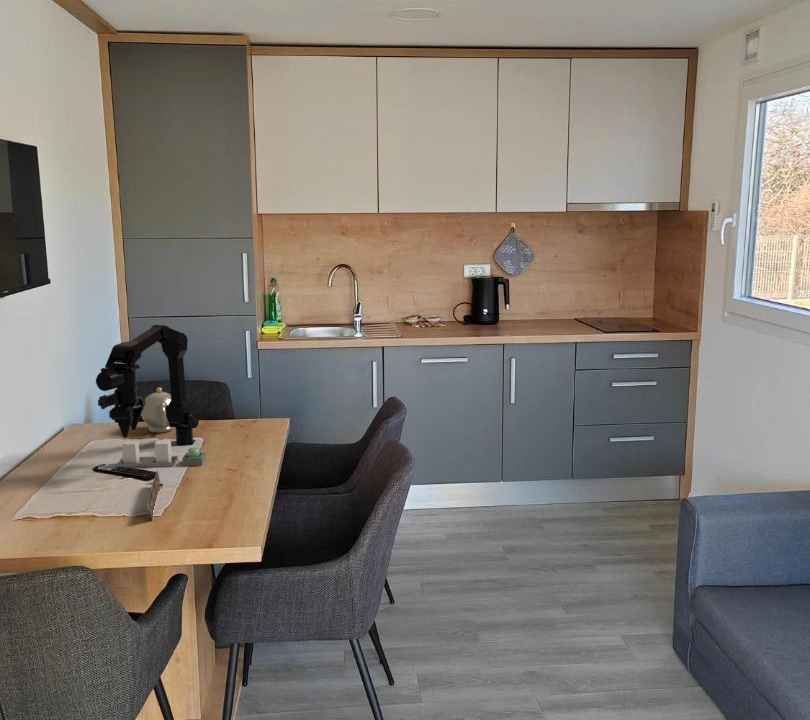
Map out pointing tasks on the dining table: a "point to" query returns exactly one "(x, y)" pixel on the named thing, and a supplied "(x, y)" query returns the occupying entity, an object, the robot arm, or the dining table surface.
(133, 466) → the tray
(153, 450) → the blue-grey square tray
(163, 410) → the teapot
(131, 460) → the block
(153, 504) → the incense holder
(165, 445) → the seated billet
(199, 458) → the grey square tube
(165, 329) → the robot arm
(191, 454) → the button
